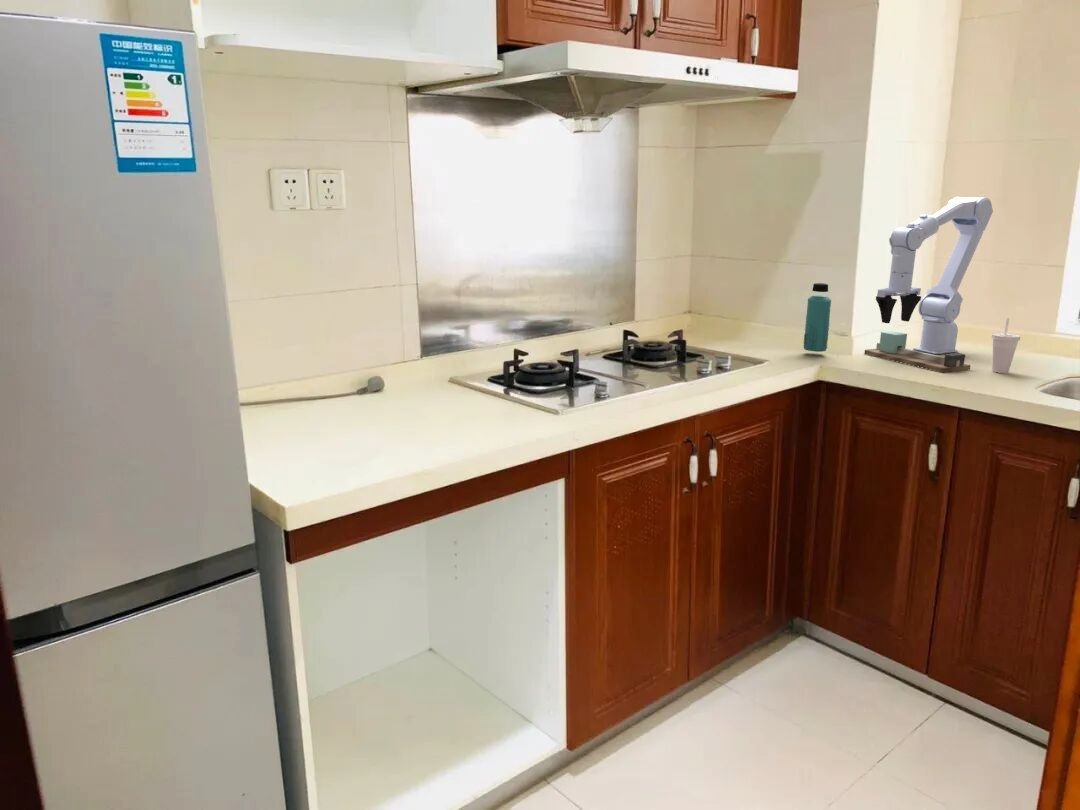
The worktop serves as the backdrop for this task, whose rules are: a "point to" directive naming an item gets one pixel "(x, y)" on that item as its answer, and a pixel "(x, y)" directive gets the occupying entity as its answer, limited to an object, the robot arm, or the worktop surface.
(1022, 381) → the worktop surface
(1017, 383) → the worktop surface
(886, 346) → the block
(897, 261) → the robot arm
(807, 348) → the beverage bottle
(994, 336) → the smoothie
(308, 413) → the worktop surface
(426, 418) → the worktop surface
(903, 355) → the track
